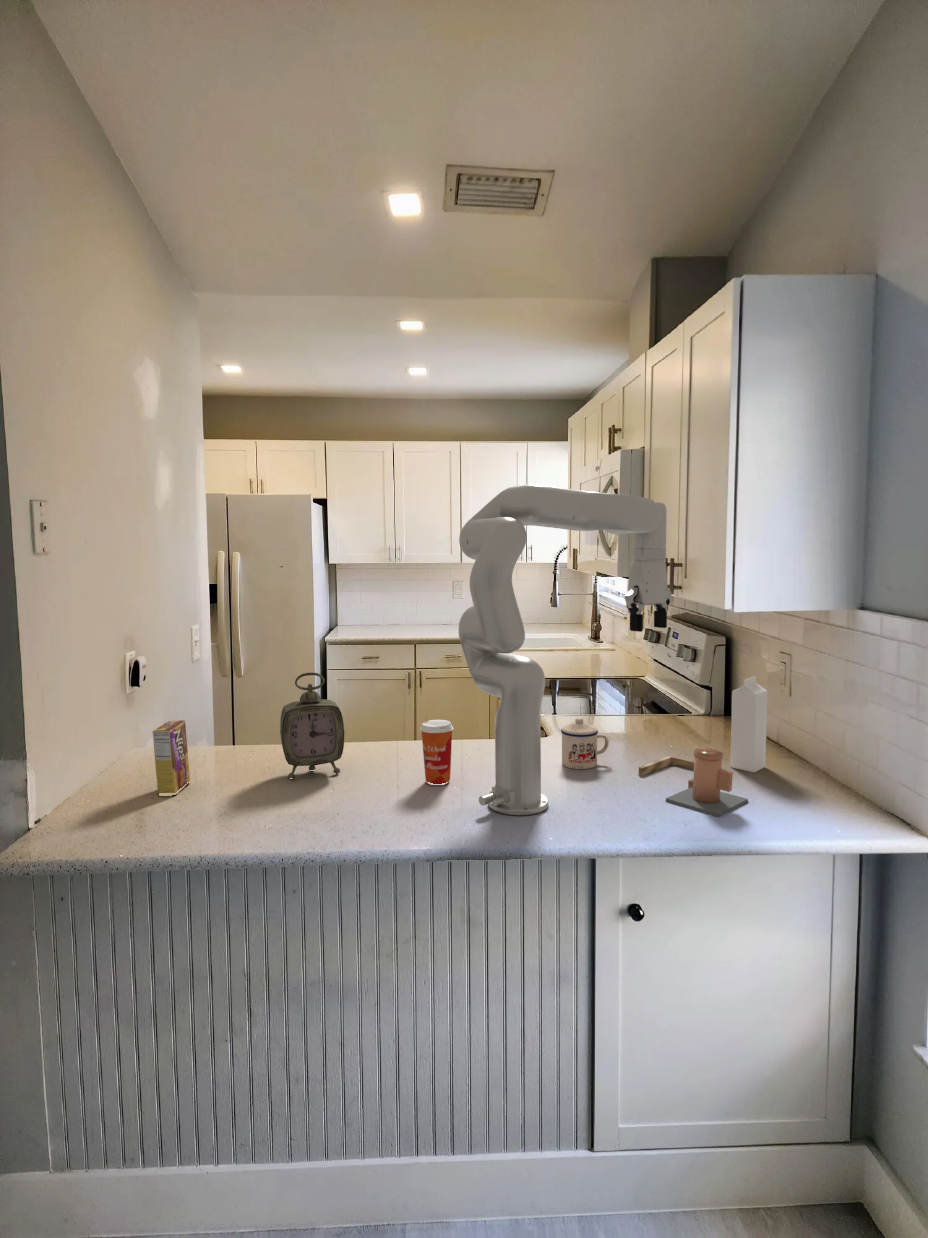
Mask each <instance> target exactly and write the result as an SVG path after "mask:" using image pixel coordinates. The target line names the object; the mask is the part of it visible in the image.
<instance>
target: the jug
mask: <svg viewBox="0 0 928 1238" xmlns="http://www.w3.org/2000/svg"><path fill="white" fill-rule="evenodd" d="M693 756H694V758H693V759H694V760H693V761H694V770H693V778H694V779H693V778H692V779H693V798H694V799H695V800H697V801H699V802H703V803H717V802H719V801H720V792H721V791H723V792H726V793H730V792H732V791H733V788H732V787H733V775H734V772H733V771H731V770H728V769H724V768H722V767H723V766H722V764H723V759H724V752H722V751H721V750H719V749H715V748H711V747H710V748H709V747H699V748H695V749H694V750H693ZM721 768H722V769H721Z"/></svg>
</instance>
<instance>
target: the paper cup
mask: <svg viewBox="0 0 928 1238" xmlns="http://www.w3.org/2000/svg"><path fill="white" fill-rule="evenodd" d="M419 730H420V731H421V741H422V743H421V744H422V754H423V764H424V765H423V766H424V776H425V782H426V781H427V782H430V783H433V784H442V783H446V782H449V780H450V781H451V769H452V768H451V767H452V766H451V765H452V764H451V763H452V742H453V741H452V739H453V730H455V729H454V727H453V725H452V723H451V721H450V720H446V719H430V720H426V721H424V722H422V723H421V726H420V728H419ZM449 783H450V782H449Z"/></svg>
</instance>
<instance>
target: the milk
mask: <svg viewBox="0 0 928 1238" xmlns="http://www.w3.org/2000/svg"><path fill="white" fill-rule="evenodd" d="M756 678H757V677H756V675H754V676H751V677H746V678H745V679H744V680H743V685H742V686H740V687H738V688H736V689H733V690H732V692H731V721H730V722H731V724H730V725H731V726H730V727H731V729H730V730H731V731H730V733H731V734H730V736H731V737H730V768H732V769H737V770H742V771H746V772H750V773H756V772H758V771H761V770H762V769H764V768H766V754H767V748H766V747H767V721H768V719H767V718H768V715H767V714H768V690H767V689H766V688H765V687H763V686H761V685H760V684H759V683H757V679H756Z"/></svg>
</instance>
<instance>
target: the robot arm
mask: <svg viewBox="0 0 928 1238" xmlns="http://www.w3.org/2000/svg"><path fill="white" fill-rule="evenodd" d="M526 526H534V527H543V528H553V529H562V530H567V531H576V532H579V531H582V532H590V531H592V532H593V531H606V532H607V533H609V534H611V535H618V536H619V535H632V562H631V563H630V568H629V574H628V581H627V582H628V583H627V584H628V585H627V593H626V594H625V595H624V600H625V603H626V606H625V607H626V608H627V610H628V611H627V613H628V614H629V631H630V632H641V633H642V632H643V630H644V614H643V613H642V611H643V610H644V608H645V606H653V607H654V608H655V610H653V627H654V628H660V629H661V628H662V629H666V628H667V626H668V611H669V605H670V604H671V597H672V591H671V590H670V589H668V588H669V587H668V571H667V563H666V562H667V506H666V504H664V502H659V501H655V500H652V499H651V498H647V497H643V496H636V495H630V494H619V493H608V492H599V491H598V492H597V491H591V490H589V491H587V490H579V489H572V488H565V487H561V486H560V487H559V486H553V485H547V484H539V483H530V484H523V485H516V486H510V487H508V488H505V489H503V490H502V491H500V492H499V493H498V494H497V495H496V496H494V497H493V498H492V499H491V500H489V502H487V504H485V505H484V506H483V507H482V508H481V509H480V510H479V511H477V512H476V513H475V514H474V515H473V516H472V517H470V518H469V520H468V521H467V522H465V524H464V525H463V527H462V528H461V530H460V534H459V539H458V541H459V542H458V543H459V547H460V550H461V551H462V552H463V554H464V555H465V556H466V557H468V558H469V559H472V560H474V563H473V565H472V568H471V571H470V575H469V592H470V596H471V599H472V604H473V605H472V606H470V607H468V608H467V609H466V610H465V611H464V612H463V613H462V615H461V617H460V618H459V623H458V637H459V638H458V639H459V642H460V645H461V648H462V651H463V654H464V658H465V661H466V665H467V667H468V671H469V673H470V676H471V679H472V681H473V683H474V685H475V687H476V688H478V690H480V691H481V692H482V693H484V694H486V695H489V696H492V697H495V698H499V699H500V702H499V705H498V708H497V710H496V714H495V717H494V751H495V752H494V758H495V759H494V760H495V761H494V763H495V765H494V767H495V771H494V772H495V785H492V786H491V791H490V792H489V793H486V794H484V795H480V796H479V797H478V803H479V804H480V806H487V805H488V806H489V808H490V809H492V810H493V811H495V812H497V813H501V814H502V815H503V814H504V815H510V816H526V815H527V816H531V815H535V814H539V813H541V812H543V811H545V810H546V809H547V808H548V807H549V798H548V796H546V795H545V794H544V793H542V766H541V765H542V760H541V759H542V756H541V755H542V753H541V750H542V749H541V744H542V741H541V739H542V738H541V714H542V713H541V712H542V704H543V698H544V693H545V687H546V677H545V671H544V670H543V667H542V666H540V664H539V663H538V662H536V661H535V660H534V659H532V658H530V657H528V656H525V655H524V656H523V655H518V654H514V653H515V652H517V651H518V650H520V649H521V648H522V646H523V645H524V643H525V640H526V632H525V631H526V630H525V626H524V623H523V619H522V615H521V612H520V607H519V605H518V602H517V598H516V594H515V590H514V587H513V573H514V568H515V566H516V564H517V561H518V560H519V558H520V556H521V554H522V553H523V551H524V549H525V546H526V543H527V530H526Z"/></svg>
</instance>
